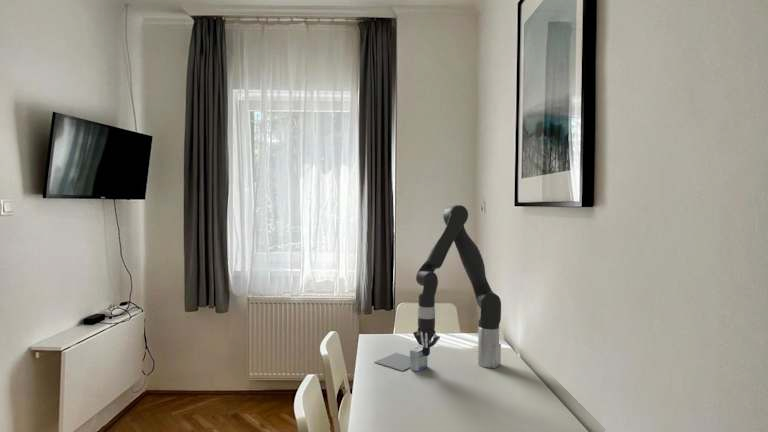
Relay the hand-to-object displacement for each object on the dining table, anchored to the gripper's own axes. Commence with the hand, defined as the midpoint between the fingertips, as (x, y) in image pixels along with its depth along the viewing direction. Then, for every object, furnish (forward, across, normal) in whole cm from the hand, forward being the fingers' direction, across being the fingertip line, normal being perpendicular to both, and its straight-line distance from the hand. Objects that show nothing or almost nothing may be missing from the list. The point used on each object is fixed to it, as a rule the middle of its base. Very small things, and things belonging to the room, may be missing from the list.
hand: (426, 355), depth 180 cm
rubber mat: (+7, +15, 0) cm, 16 cm away
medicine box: (+7, +4, 0) cm, 8 cm away
